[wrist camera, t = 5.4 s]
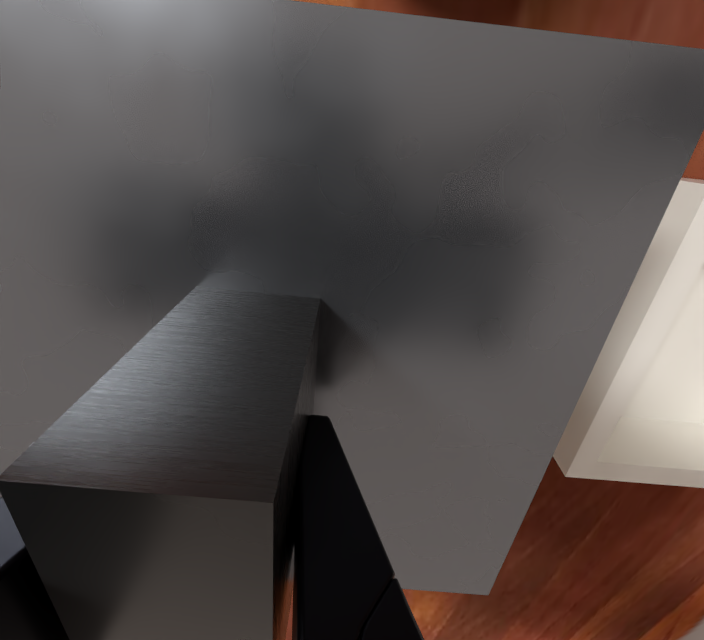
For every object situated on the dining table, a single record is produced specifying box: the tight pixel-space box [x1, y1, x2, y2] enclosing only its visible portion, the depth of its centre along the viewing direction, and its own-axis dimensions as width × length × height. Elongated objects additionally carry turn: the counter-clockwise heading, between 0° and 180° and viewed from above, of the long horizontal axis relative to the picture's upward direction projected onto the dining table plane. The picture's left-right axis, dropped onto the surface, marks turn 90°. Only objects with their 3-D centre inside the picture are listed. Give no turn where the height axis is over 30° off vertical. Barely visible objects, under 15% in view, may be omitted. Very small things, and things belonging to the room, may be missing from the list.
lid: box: [0, 0, 704, 640], centre depth 7 cm, size 14×14×6 cm
